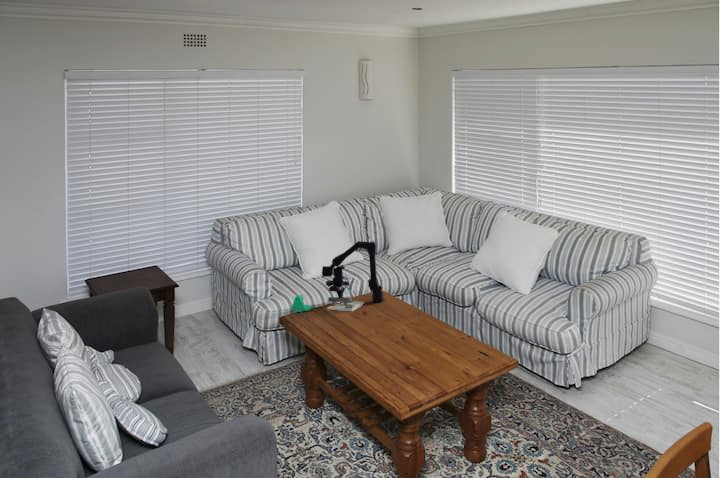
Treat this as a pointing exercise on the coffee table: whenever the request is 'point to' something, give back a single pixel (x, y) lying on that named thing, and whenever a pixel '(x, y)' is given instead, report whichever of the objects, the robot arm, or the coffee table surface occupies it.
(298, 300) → the green irregular lump
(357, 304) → the levelling board
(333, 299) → the footscrew knob
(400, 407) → the coffee table surface
